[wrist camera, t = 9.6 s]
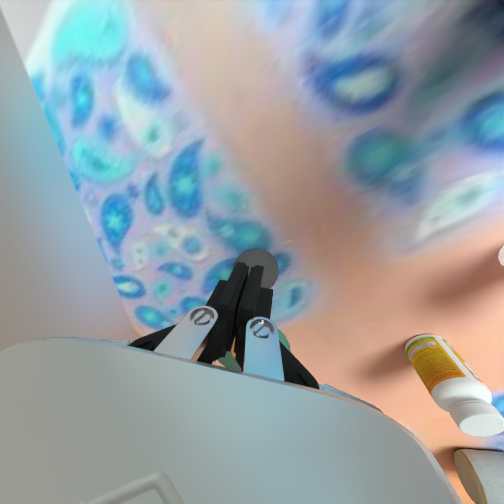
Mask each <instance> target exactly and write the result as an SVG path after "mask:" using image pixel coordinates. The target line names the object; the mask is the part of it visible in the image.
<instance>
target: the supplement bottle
mask: <svg viewBox="0 0 504 504" xmlns="http://www.w3.org/2000/svg"><path fill="white" fill-rule="evenodd" d="M405 353H406V355H407V357H408V358H409V360H410V362H411V363H412V365H413V367H414V368H415V370H416V372H417V373H418V375H419V377H420V378H421V380H422V381H423V383H424V385H425V386H426V388H427V390H428V391H429V393H430V395H431V396H432V398H433V399H434V401H435V402H436V404H437V405H438V406H439V407H441V408H442V409H444V410H445V411H447V412H450V415H451V416H452V418H453V420H454V421H455V423H456V424H457V426H458V427H459V429H460V430H461V431H462V432H464V433H465V434H468V435H471V436H480V437H483V436H492V435H496V434H498V433H501V432H502V431H504V418H503V417H502V416H501V414H500V413H499V412H498V410H497V409H496V408H495V407H494V406H493V405H491V401H492V396H491V393H490V391H489V390H488V388H487V387H486V386H485V384H484V383H483V382H482V381H481V380H480V379H479V377H478V376H477V375H476V374H475V373H474V372H473V371H472V369H471V368H470V367H469V366H468V365H467V364H466V362H465V361H464V360H463V359H462V358H461V357H460V356H459V354H458V353H457V352H456V351H455V350H454V349H453V347H452V346H451V345H450V344H449V343H448V342H447V341H446V340H445V339H444V338H442V337H440V336H438V335H434V334H424V335H419V336H416V337H414V338H412V339H410V340H409V341H408V342H407V344H406V346H405Z"/></svg>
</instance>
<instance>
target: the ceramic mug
mask: <svg viewBox="0 0 504 504" xmlns="http://www.w3.org/2000/svg"><path fill="white" fill-rule="evenodd" d="M454 464H455V467H456V471H457V473H458V476H459V478H460V481H461V483H462V485H463V486H464V488H465V490H466V492H467V494H468V495H469V496H470V498H471V499H472V500H473V501H474V502H475V503H476V504H504V452H498V451H486V450H472V449H459V450H456V451H455V452H454Z"/></svg>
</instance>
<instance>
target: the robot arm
mask: <svg viewBox="0 0 504 504" xmlns="http://www.w3.org/2000/svg"><path fill="white" fill-rule="evenodd" d="M503 1H504V0H503ZM263 271H264V266H260V265H255V267H251V270H250V273H249V276H248V272H249V266H246V263H243V262H237V263H236V265H235V267H234V269H233V271H232V273H231V275H230V277H229V279H228V281H225V280H220V281H219V282H218V284H217V286H216V288H215V290H214V291H213V293H212V295H211V297H210V299H209V301H208V302H207V304H206V306H198V307H195V308H193V309H191V310H190V311H189V312H188V313H187V314H186V315H185V316H184V317H183V319H182V320H181V321H180V322H179V323H178V324H176V325H173V326H171V327H168V328H165V329H163V330H160V331H157V332H155V333H152V334H149V335H147V336H144V337H141V338H139V339H137V340H135V341H134V342H132V343H130V341H129V340H94V339H88V338H78V337H53V338H52V337H51V338H42V339H37V340H31V341H27V342H23V343H20V344H17V345H14V346H12V347H10V348H8V349H6V350H4V351H2V352H0V504H462V502H461V500H460V498H459V496H458V495H457V493H456V491H455V490H454V488H453V486H452V484H451V483H450V481H449V479H448V478H447V476H446V474H445V473H444V471H443V469H442V468H441V466H440V465H439V463H438V462H437V460H436V459H435V458H434V456H433V455H432V453H431V452H430V451H429V450H428V449H427V447H426V446H425V445H424V444H423V443H422V442H421V441H420V440H419V439H418V438H417V437H416V436H415V435H414V434H413V433H411V432H410V431H409V430H408V429H406V428H405V427H404V426H402V425H401V424H399V423H398V422H397V421H395V420H393V419H392V418H390V417H388V416H387V415H385V414H384V413H383V412H382V411H381V410H380V409H378V408H377V407H375V406H373V405H372V404H369V403H367V402H365V401H363V400H360V399H358V398H356V397H354V396H351V395H349V394H347V393H345V392H343V391H340V390H338V389H336V388H334V387H331V386H329V385H327V384H325V385H324V386H323V385H320V384H318V383H317V381H316V379H315V378H314V377H313V376H312V375H311V373H310V372H309V371H308V370H307V369H306V368H305V367H304V366H303V365H302V364H301V363H300V362H299V361H298V360H297V359H296V358H295V357H294V355H293V354H292V353H291V352H290V351H289V350H288V349H287V348H286V347H285V346H284V345H283V344H282V343H281V342H280V341H279V336H278V329H277V326H276V325H275V323H274V322H273V321H271V320H270V314H271V305H272V296H273V289H268V288H263V287H261V284H262V278H263ZM234 339H235V343H234V353H236V355H235V360H236V362H237V363H238V365H239V366H240V368H241V370H240V371H238V370H234V369H229V368H225V367H221V366H216V365H215V363H216V360H217V359H219V358H221V357H223V358H225V356H226V353H227V351H228V352H231V349H232V346H233V342H234Z"/></svg>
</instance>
